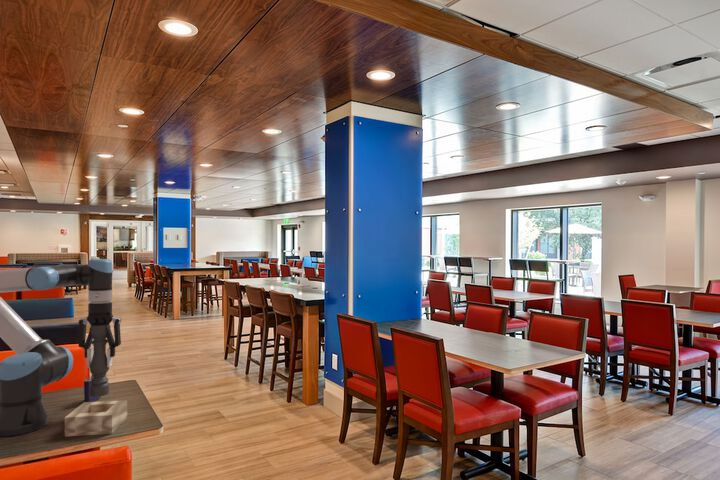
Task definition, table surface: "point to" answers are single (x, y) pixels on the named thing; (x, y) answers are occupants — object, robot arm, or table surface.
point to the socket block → (96, 418)
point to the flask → (87, 391)
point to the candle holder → (99, 362)
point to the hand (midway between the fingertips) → (99, 366)
